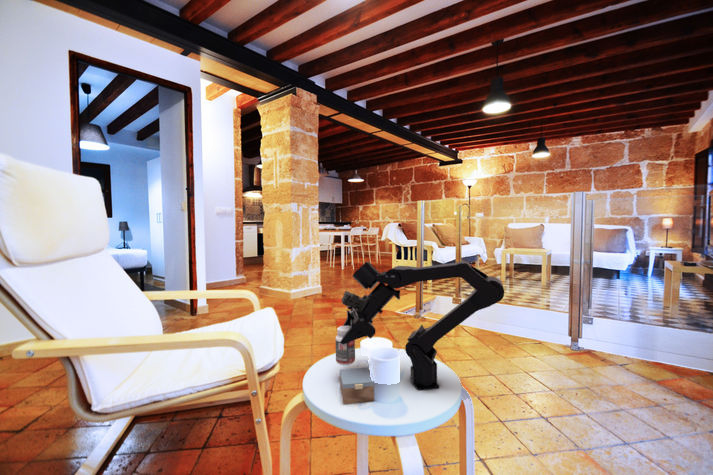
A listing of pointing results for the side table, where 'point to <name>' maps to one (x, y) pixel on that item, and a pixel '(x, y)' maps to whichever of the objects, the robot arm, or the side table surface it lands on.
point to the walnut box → (357, 394)
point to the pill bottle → (344, 348)
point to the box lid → (356, 378)
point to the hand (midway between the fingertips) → (340, 339)
